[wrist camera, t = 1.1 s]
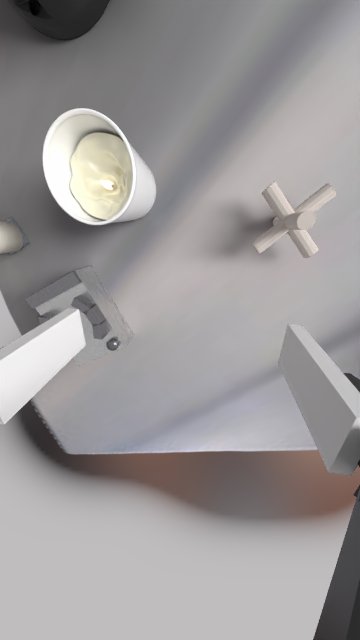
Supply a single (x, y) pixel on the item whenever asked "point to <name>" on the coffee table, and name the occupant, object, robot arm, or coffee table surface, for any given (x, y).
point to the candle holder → (96, 170)
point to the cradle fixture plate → (85, 312)
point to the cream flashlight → (11, 237)
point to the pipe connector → (293, 219)
